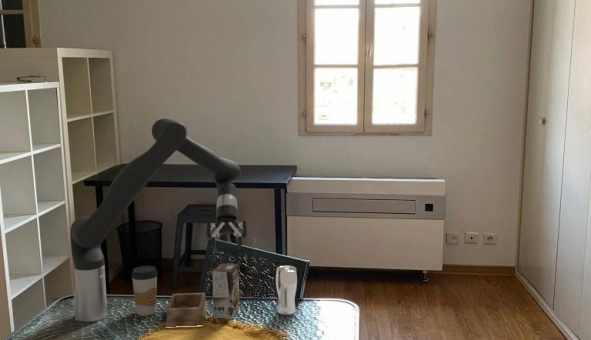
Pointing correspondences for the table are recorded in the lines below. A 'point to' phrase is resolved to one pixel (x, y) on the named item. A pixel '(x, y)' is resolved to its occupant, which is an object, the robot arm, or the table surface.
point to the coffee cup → (145, 289)
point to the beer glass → (286, 289)
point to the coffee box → (225, 291)
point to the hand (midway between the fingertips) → (226, 248)
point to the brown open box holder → (186, 310)
